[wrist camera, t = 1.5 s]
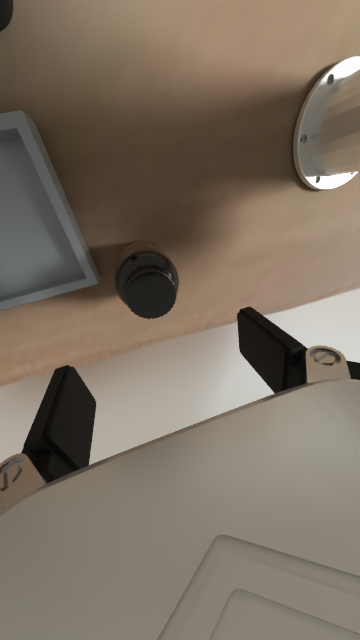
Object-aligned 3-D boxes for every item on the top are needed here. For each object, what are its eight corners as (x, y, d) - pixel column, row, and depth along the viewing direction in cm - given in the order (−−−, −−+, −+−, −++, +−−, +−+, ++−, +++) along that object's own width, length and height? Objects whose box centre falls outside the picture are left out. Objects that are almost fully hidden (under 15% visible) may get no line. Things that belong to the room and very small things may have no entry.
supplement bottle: (166, 240, 28) (191, 258, 18) (166, 287, 31) (186, 326, 21) (114, 239, 26) (108, 258, 16) (119, 289, 29) (117, 332, 19)
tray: (34, 122, 20) (21, 109, 17) (100, 277, 28) (98, 283, 25) (-124, 151, 18) (-165, 142, 16) (-6, 305, 26) (-20, 316, 24)
